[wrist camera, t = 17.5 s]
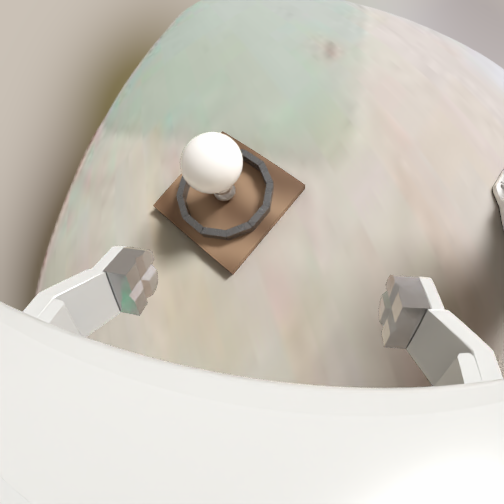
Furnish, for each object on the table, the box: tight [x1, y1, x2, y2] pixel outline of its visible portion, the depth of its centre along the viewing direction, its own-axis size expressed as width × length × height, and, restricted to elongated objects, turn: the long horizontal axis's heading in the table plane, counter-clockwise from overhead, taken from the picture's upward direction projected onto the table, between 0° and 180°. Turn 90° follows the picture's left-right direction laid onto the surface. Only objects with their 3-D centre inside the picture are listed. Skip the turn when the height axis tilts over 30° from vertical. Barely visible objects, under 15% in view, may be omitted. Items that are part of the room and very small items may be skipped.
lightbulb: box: [180, 132, 243, 201], centre depth 30 cm, size 6×6×11 cm
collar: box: [176, 149, 274, 240], centre depth 35 cm, size 12×12×2 cm
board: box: [153, 131, 305, 274], centre depth 36 cm, size 14×14×1 cm
